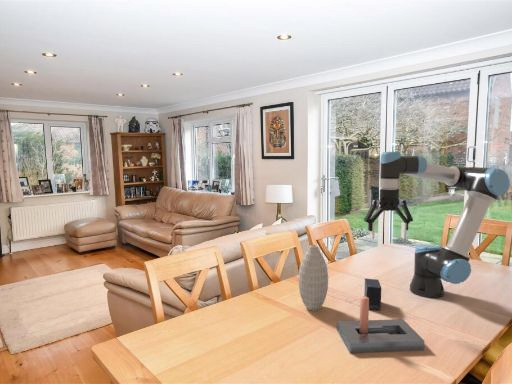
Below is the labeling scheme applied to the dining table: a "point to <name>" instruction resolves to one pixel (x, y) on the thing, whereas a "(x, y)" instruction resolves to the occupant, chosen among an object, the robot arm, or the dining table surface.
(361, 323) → the stud
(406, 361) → the dining table surface
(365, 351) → the grey slotted plate
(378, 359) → the dining table surface
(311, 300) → the vase
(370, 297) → the small box
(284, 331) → the dining table surface
